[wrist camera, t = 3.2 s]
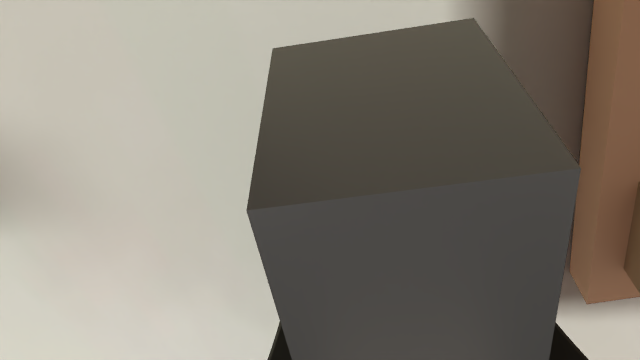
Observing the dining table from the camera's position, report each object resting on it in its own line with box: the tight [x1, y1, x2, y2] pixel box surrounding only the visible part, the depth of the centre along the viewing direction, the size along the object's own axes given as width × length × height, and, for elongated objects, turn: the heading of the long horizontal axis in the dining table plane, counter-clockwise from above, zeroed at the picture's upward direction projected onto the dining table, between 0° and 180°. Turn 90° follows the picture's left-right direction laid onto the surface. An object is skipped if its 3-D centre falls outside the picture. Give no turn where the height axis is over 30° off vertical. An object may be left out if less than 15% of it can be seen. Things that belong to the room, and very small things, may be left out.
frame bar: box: [247, 18, 581, 360], centre depth 11 cm, size 12×4×4 cm, turn 9°
